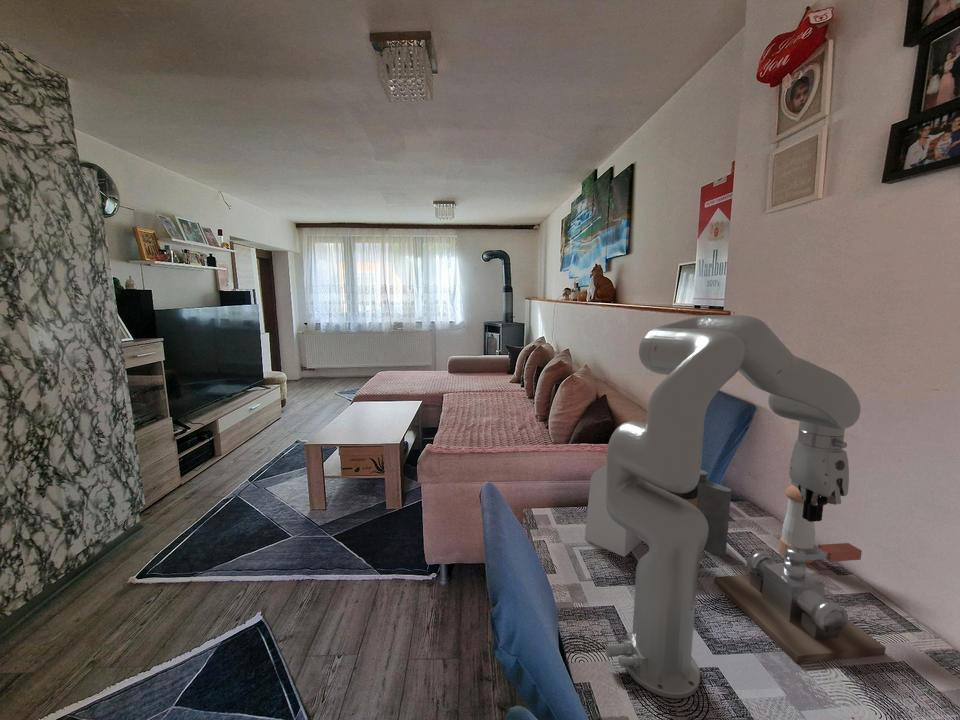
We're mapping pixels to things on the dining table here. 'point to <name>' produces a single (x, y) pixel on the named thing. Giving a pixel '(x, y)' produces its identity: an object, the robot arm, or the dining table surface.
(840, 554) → the lever
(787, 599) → the valve body
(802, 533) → the salt shaker
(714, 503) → the hip flask
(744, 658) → the dining table surface
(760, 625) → the walnut board
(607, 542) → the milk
